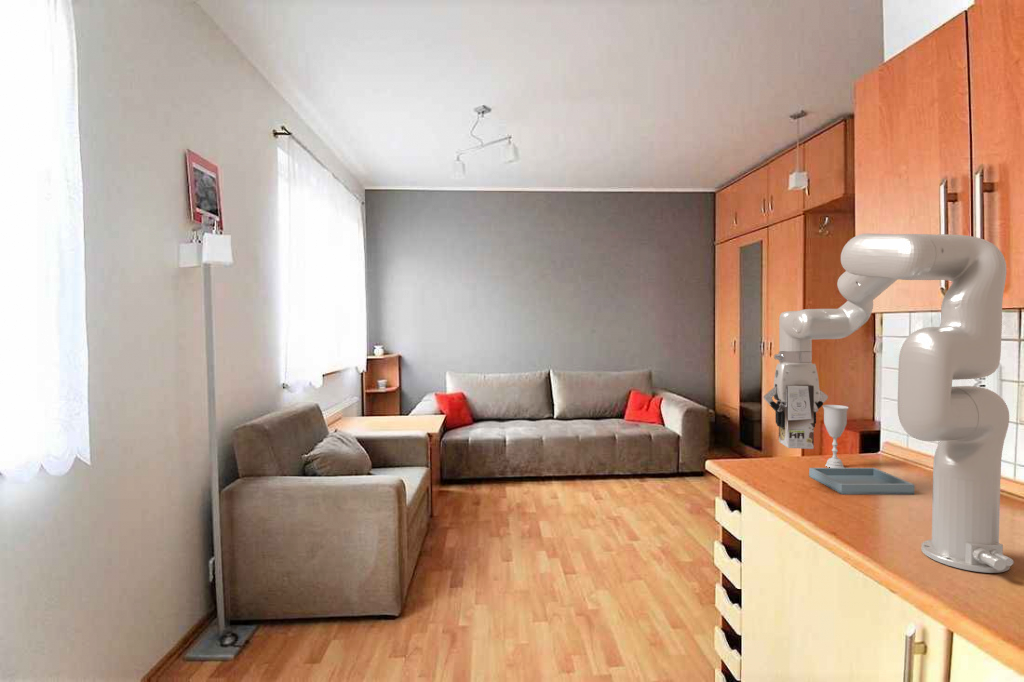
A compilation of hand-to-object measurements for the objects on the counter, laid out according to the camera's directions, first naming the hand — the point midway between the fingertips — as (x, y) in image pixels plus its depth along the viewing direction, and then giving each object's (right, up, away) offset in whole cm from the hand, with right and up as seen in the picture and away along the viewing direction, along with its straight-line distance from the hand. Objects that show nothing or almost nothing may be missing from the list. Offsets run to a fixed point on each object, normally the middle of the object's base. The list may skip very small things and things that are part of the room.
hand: (795, 426), depth 145 cm
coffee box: (0, -5, 0) cm, 5 cm away
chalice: (+23, -16, +21) cm, 35 cm away
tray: (+18, -16, +3) cm, 24 cm away
